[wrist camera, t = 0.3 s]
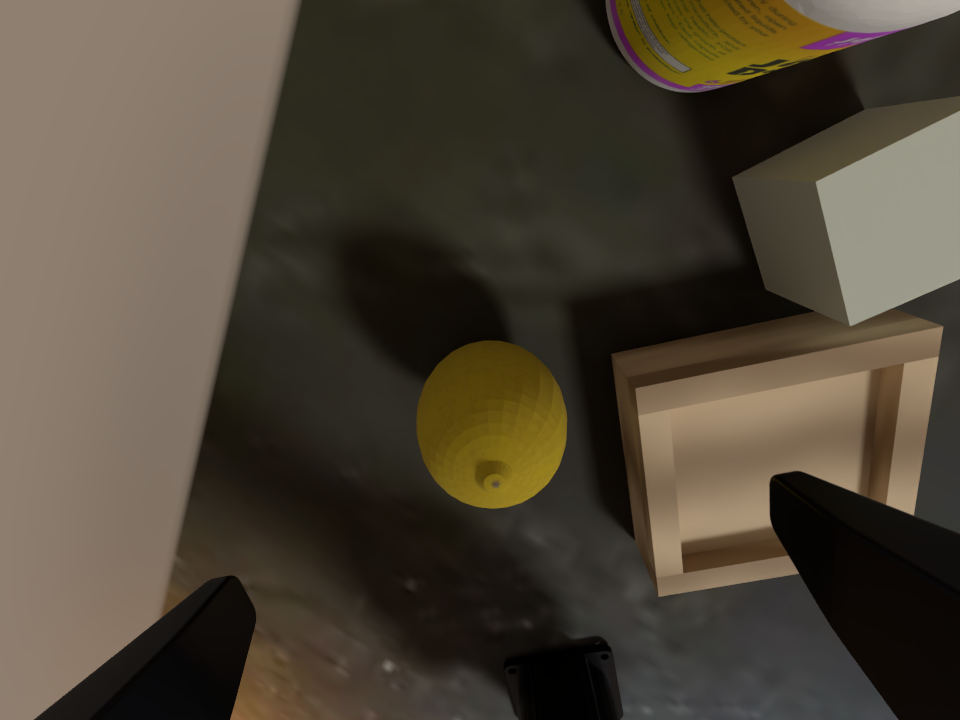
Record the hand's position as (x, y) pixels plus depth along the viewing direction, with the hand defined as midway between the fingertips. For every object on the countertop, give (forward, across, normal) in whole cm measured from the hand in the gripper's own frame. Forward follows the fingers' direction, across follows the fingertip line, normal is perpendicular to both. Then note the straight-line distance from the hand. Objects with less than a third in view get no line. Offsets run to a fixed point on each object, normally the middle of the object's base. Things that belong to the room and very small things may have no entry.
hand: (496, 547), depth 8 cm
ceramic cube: (+14, -14, -2) cm, 19 cm away
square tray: (+14, -10, +8) cm, 19 cm away
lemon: (+14, 0, +3) cm, 14 cm away
